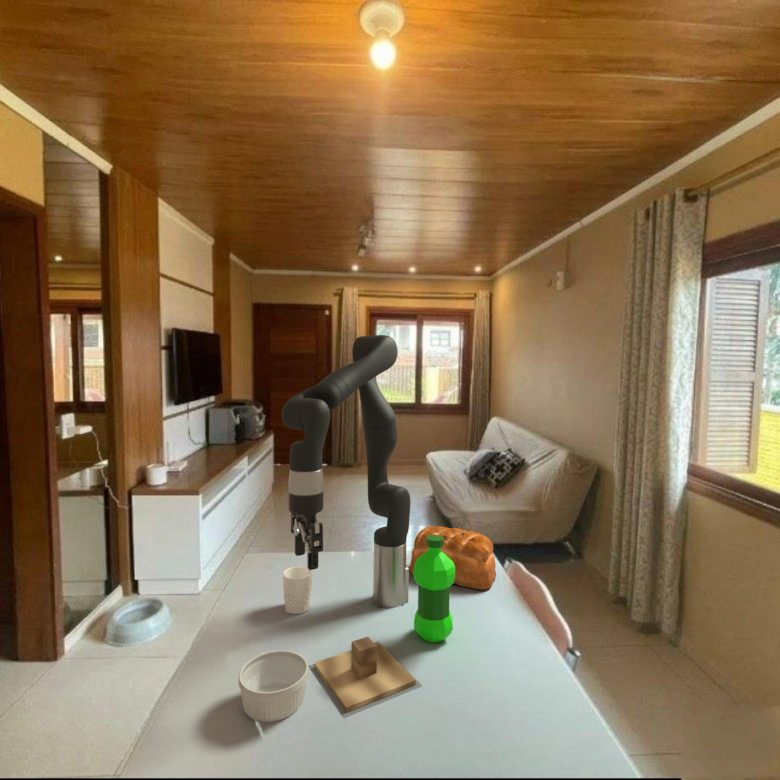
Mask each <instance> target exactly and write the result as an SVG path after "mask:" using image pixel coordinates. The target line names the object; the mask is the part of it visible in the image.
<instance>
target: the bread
mask: <svg viewBox="0 0 780 780" xmlns="http://www.w3.org/2000/svg"><path fill="white" fill-rule="evenodd" d="M429 535H440V536H442V537H443V547H441V551H442V552H443V553H444V554H445V555H447V556H448V557H449V558H450V559H451V560H452V561H453V563H454V565H455V580H454V583H453V584H456V585H458V586H461V587H465V588H469V589H476V590H488V589H490V588H492V585H493V583H494V582H495V580H496V577H497V572H496V566H497V565H496V558H495V555H494V544H493V542H492V540H490V539H489V537H488V536H486V535H484V534H481V533H480V532H478V531H475V530H473V531H472V530H465V529H462V528H457V527H451V528H449V527H446V526H440V525H439V526H430V525H429V526H426V527H424V528H422V529H420V531H419V532H418V533H417V534H416V535H415V538H414V543H413V547H412V548H413V549H412V551H411V560H410V563H409V573H411V574H412V575H413V570H414V564H415V562H416V559H418V558H419V557H420V556H421V555H422V554H424V553H425V552H427V551H428V546H426V538H427V536H429ZM453 584H452V585H453Z"/></svg>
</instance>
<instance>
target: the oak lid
mask: <svg viewBox="0 0 780 780" xmlns="http://www.w3.org/2000/svg"><path fill="white" fill-rule="evenodd" d="M350 647H351V650H349V651H345V652H342V653H339V654H335V655H333V656H329V657H327V658H324V659H321V660H318V661H315V662H314V663H313V664H314V667H315V668H316V670H317V671H318V673H319V674H320V676H321V677H322V678H323V680H324V681H325V683H326V684H327V686H328V687H329V688H330V690H331V691H332V693H333V694H334V696H335V697H336V698H337V700H338V701H339V703H340V704H341V706H342V707H343V708H344V710H345V711H346V713H347V712H349V711H352V710H354V709H357V708H359V707H362V706H364V705H367V704H369V703H372V702H374V701H377V700H379V699H382V698H384V697H387V696H389V695H391V694H394V693H396V692H399V691H401V690H404V689H406V688H409V687H411V686H414V685H416V680H417V679H416V678H415V677H414V676H413V675H412V674H411V673H410V672H409V671H408V670H407V669H406V668H405V667H404V666H403V665H402V664H401V663H400V662H399V660H397V659H396V657H394V656H393V655H392V654H391V652H390V651H389V650H388V649H387V648H385V647H384V645H383V644H382V643H381V642H380V641H376V642H374V641H373V640H372V639H371V638H370V637H369V636H366V637H363V638H359V639H356V640H353V641H351V646H350ZM400 664H401V665H402V666H403V667H404V668H405V669H406V670H407V671H408V672H409V673H410V674H411V675H412V676H413V677H414V678H415V679H416V680H415V679H414V678H413V677H412V676H411V675H410V674H409V673H408V672H407V671H406V670H405V669H404V668H403V667H402V666H401V665H400Z"/></svg>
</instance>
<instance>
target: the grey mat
mask: <svg viewBox="0 0 780 780" xmlns="http://www.w3.org/2000/svg"><path fill="white" fill-rule="evenodd" d="M400 665H401V666H402V667H403V668H404V669H405V670H406V671H407V672H408V673H409V674H410V675H411V676H412V677H413V678H414V679H415V680H416V685H414V686H411V687H409V688H406V689H404V690H401V691H399V692H396V693H394V694H391V695H389V696H387V697H384V698H382V699H379V700H377V701H374V702H372V703H369V704H367V705H364V706H362V707H359V708H357V709H354V710H352V711H349V712H347V713H346V711H345V710H344V708H343V707H342V706H341V704H340V703H339V701H338V700H337V698H336V697H335V696H334V694H333V693H332V691H331V690H330V688H329V687H328V686H327V684H326V683H325V681H324V680H323V678H322V677H321V676H320V674H319V673H318V671H317V670H316V668H315V667H314V663H312V664H310V665H309V664H308V669H309V670H311V672H312V674H313V675H314V676H315V678H316V679H317V680H318V683H319V684H320V685H321V687H322V688H323V689H324V691H325V693H326V694H327V696H328V697H329V699H330V700H331V702H332V703H333V705H334V706H335V707H336V709H337V710H338V712H339V713H340V714H341V716H342V718H344V719H345V718H348V717H351V716H353V715H355V714H357V713H360V712H362V711H365V710H368V709H370V708H373V707H375V706H378V705H380V704H383V703H385V702H387V701H389V700H392V699H394V698H397V697H399V696H402V695H404V694H407V693H409V692H411V691H413V690H416V689H419V688H421V687H423V685H422V684H421V683H420V682H419V681H418V680H417V679H416V678H415V677H414V676H413V675H412V674H411V673H410V672H409V671H408V669H406V667H404V666H403V665H402V663H400Z"/></svg>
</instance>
